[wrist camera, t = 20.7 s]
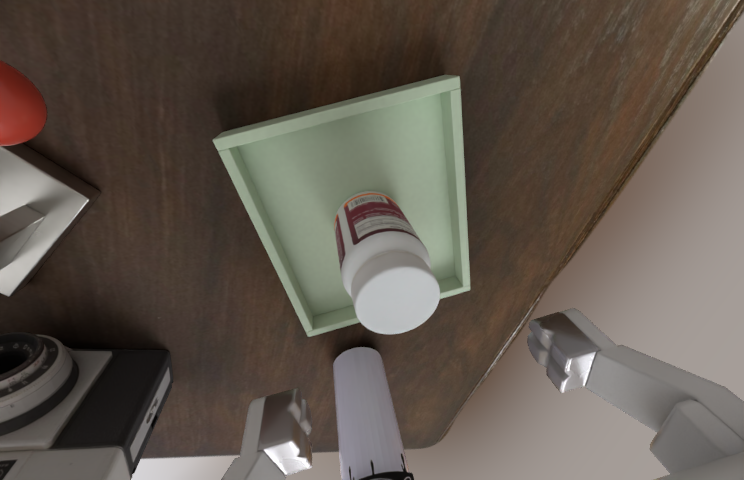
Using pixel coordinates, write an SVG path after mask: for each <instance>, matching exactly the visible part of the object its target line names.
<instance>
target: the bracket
mask: <svg viewBox="0 0 744 480" xmlns="http://www.w3.org/2000/svg"><path fill="white" fill-rule="evenodd" d="M100 194H101V192H100V191H99V190H97V189H95V188H94V187H92V186H91V185H89V184H87V183H86V182H84V181H82V180H81V179H79V178H78V177H76V176H74V175H73V174H71V173H70V172H68V171H66V170H65V169H63V168H62V167H60V166H58V165H57V164H55V163H54V162H52V161H50V160H49V159H47V158H45V157H44V156H42V155H41V154H39V153H37V152H36V151H34V150H33V149H31V148H29V147H28V146H26V145H25V144H23V143H21V144H16V145H11V146H0V293H1V294H4V295H6V296H9V297H11V296H13V295H14V294H15V293H17V292H18V291H19V290H21V289H22V288H23V287H25V286H26V285H27V283H28V282H29V281H30V280H31V278H32V277H33V276H34V275H35V274H36V272H37V271H38V270H39V269H40V267H41V266H42V265H43V264H44V263H45V261H46V260H47V259H48V258H49V256H50V255H51V254H52V253H53V252H54V250H55V249H56V248H57V247H58V245H59V244H60V243H61V242H62V241H63V239H64V238H65V237H66V236H67V234H68V233H69V232H70V231H71V229H72V228H73V227H74V226H75V225H76V223H77V222H78V221H79V220H80V218H81V217H82V216H83V215H84V214H85V212H86V211H87V210H88V209H89V207H90V206H91V205H92V204H93V203H94V201H95V200H96V199H97V198H98V196H99V195H100Z"/></svg>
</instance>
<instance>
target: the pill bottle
mask: <svg viewBox="0 0 744 480" xmlns="http://www.w3.org/2000/svg"><path fill="white" fill-rule="evenodd" d="M334 230H335V237H336V243H337V250H338V257H339V263H340V270H341V277H342V282H343V285H344V287H345V289H346V291H347V293H348V294H349V295H350V296H351V297H352V301H353V304H354V309H355V313H356V316H357V318H358V320H359V321H360V322H361V323H362V324H363V325H364V326H365V327H366V328H368V329H369V330H371V331H374V332H376V333H381V334H398V333H403V332H406V331H409V330H412V329H414V328H416V327H418V326H419V325H421V324H422V323H424V322H425V321H426V320H427V319H428V318H429V317H430V316H431V315H432V314H433V312H434V311H435V309H436V307H437V305H438V303H439V299H440V288H439V284H438V282H437V280H436V278H435V276H434V274H433V273H432V271H431V263H430V257H429V254H428V251H427V249H426V247H425V246H424V244H423V243H422V241H421V240H420V238H419V237H418V235H417V234H416V232H415V230H414V229H413V228H412V226H411V224H410V223H409V221H408V220H407V218H406V217H405V215H404V214H403V212H402V211H401V209H400V208H399V206H398V205H397V203H396V202H395V201H394V200H393V199H392V198H390V197H389V196H387V195H386V194H384V193H381V192H376V191H365V192H360V193H357V194H355V195H353V196H351V197H350V198H348V199H347V200H346V201H345V202H344V203H343V204H342V205H341V206H340V207H339V209H338V211H337V213H336V216H335V220H334Z"/></svg>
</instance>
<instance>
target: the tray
mask: <svg viewBox="0 0 744 480" xmlns="http://www.w3.org/2000/svg"><path fill="white" fill-rule="evenodd" d="M213 142H214V144H215V146H216V148H217V150H218V152H219V154H220V156H221V159H222V161H223V163H224V165H225V167H226V169H227V171H228V173H229V175H230V177H231V179H232V181H233V183H234V185H235V187H236V189H237V192H238V194H239V196H240V198H241V200H242V202H243V204H244V206H245V208H246V210H247V212H248V214H249V216H250V218H251V220H252V222H253V224H254V227H255V229H256V231H257V233H258V235H259V237H260V239H261V241H262V243H263V245H264V247H265V249H266V251H267V253H268V255H269V257H270V259H271V262H272V264H273V266H274V268H275V270H276V272H277V274H278V276H279V278H280V280H281V282H282V284H283V286H284V288H285V290H286V292H287V294H288V297H289V299H290V301H291V303H292V305H293V307H294V309H295V311H296V313H297V315H298V317H299V319H300V321H301V323H302V325H303V327H304V329H305V331H306V334H307V336H308V337H311V336H314V335H318V334H321V333H325V332H328V331H331V330H335V329H338V328H342V327H345V326H349V325H352V324H355V323H359V322H360V321H359V320H358V318H357V316H356V313H355V309H354V304H353V301H352V297H351V296H350V295H349V294H348V293H347V291H346V289H345V287H344V285H343V282H342V277H341V270H340V263H339V257H338V250H337V243H336V237H335V230H334V220H335V216H336V213H337V211H338V209H339V207H340V206H341V205H342V204H343V203H344V202H345V201H346V200H347V199H348V198H350V197H351V196H353V195H355V194H357V193H360V192H365V191H376V192H381V193H384V194H386V195H387V196H389V197H390V198H392V199H393V200H394V201H395V202H396V203H397V205H398V206H399V208H400V209H401V211H402V212H403V214H404V215H405V217H406V218H407V220H408V221H409V223H410V224H411V226H412V228H413V229H414V230H415V232H416V234H417V235H418V237H419V238H420V240H421V241H422V243H423V244H424V246H425V247H426V249H427V251H428V254H429V257H430V263H431V271H432V273H433V274H434V276H435V278H436V280H437V282H438V284H439V288H440V299H442V298H445V297H448V296H452V295H455V294H459V293H462V292H466V291H469V290H470V270H469V250H468V230H467V209H466V189H465V169H464V149H463V128H462V108H461V89H460V76H454V75H442V76H438V77H434V78H430V79H427V80H423V81H419V82H415V83H411V84H407V85H403V86H399V87H396V88H392V89H388V90H384V91H380V92H376V93H372V94H368V95H364V96H361V97H357V98H353V99H349V100H345V101H341V102H337V103H333V104H330V105H326V106H322V107H318V108H314V109H310V110H306V111H302V112H299V113H295V114H291V115H287V116H283V117H279V118H275V119H271V120H267V121H264V122H260V123H256V124H252V125H248V126H244V127H240V128H236V129H233V130H229V131H225V132H222V133H221V134H220V135H218V136H217V137H216V138H214V139H213Z"/></svg>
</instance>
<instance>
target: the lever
mask: <svg viewBox="0 0 744 480" xmlns="http://www.w3.org/2000/svg"><path fill="white" fill-rule="evenodd" d="M46 120H47V107H46V104H45V101H44V99H43V97H42V95H41V93H40V92H39V90H38V89H37V88H36V86H35V85H34V84H33V83H32V82H31V81H30V80H29V79H28V78H27V77H26V76H25V75H23V74H22V73H21V72H20V71H18V70H17V69H15V68H14V67H12V66H11V65H9V64H7V63H5V62H3V61H1V60H0V146H11V145H16V144H21V143H23V142H26V141H28V140H30V139H32V138H34V137H35V136H36V135H38V134H39V133H40V132H41V130H42V129H43V128H44V126H45V123H46Z"/></svg>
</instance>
